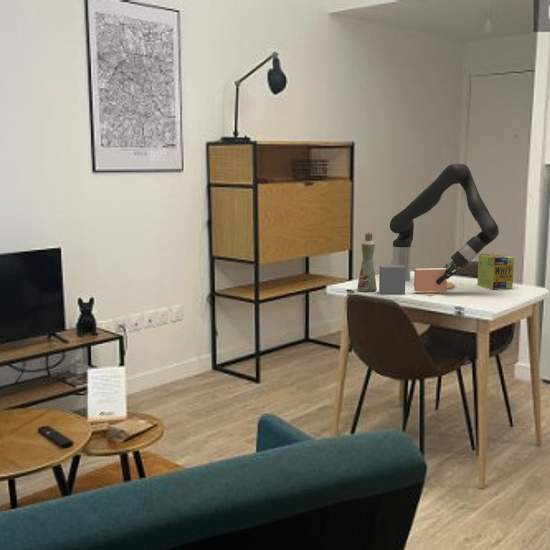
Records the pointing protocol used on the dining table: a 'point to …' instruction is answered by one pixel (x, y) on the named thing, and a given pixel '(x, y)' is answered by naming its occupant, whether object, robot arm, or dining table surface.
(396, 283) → the block
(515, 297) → the dining table surface
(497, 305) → the dining table surface
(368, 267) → the bottle
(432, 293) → the mat
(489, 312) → the dining table surface
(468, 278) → the dining table surface
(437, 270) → the book
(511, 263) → the protein box
